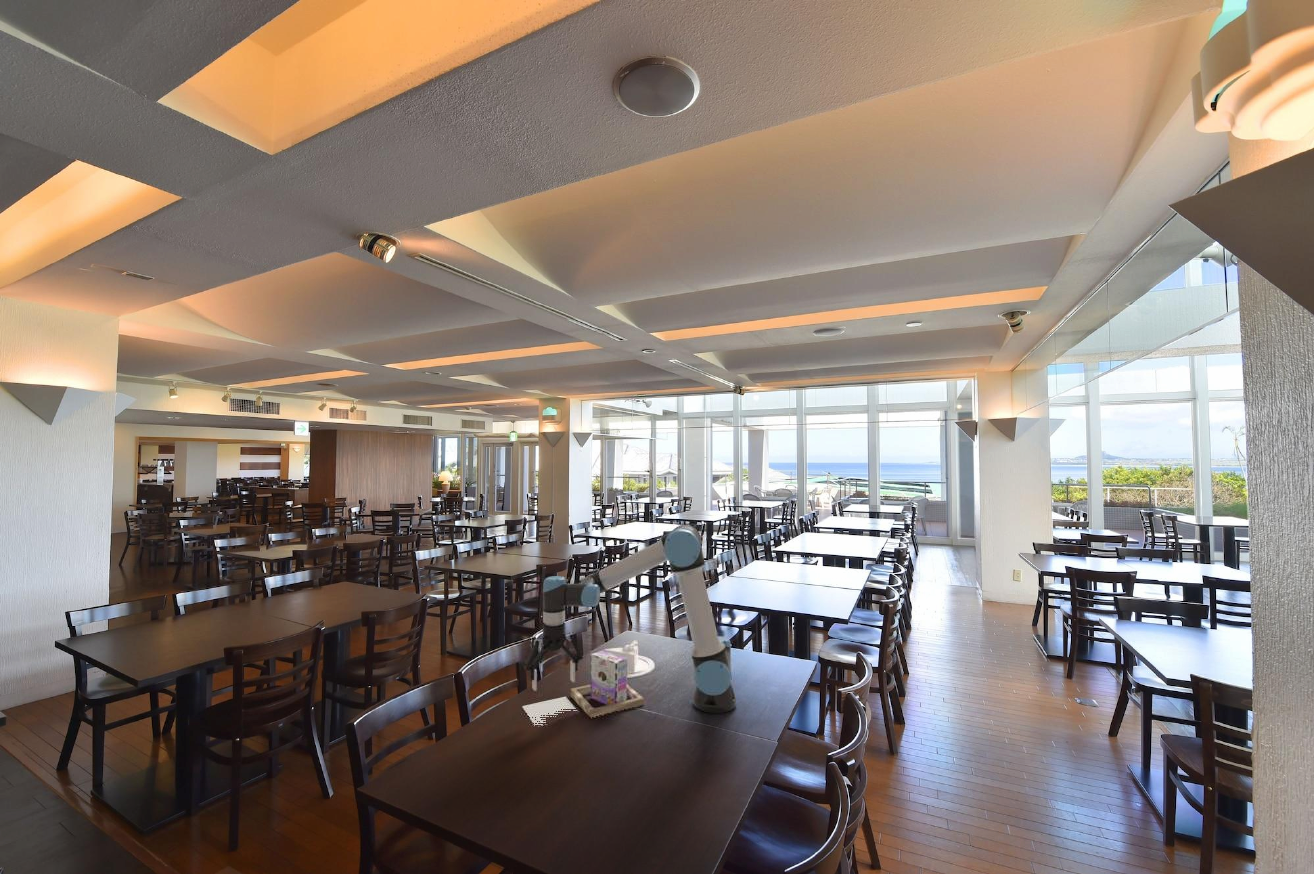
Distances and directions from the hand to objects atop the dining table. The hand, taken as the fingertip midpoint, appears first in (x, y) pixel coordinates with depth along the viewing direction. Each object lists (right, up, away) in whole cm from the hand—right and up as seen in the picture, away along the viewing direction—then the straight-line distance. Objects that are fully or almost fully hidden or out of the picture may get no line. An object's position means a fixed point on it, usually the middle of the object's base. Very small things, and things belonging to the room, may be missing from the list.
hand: (553, 684), depth 183 cm
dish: (+22, -12, +42) cm, 49 cm away
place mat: (0, -10, 0) cm, 10 cm away
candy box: (+18, -11, +9) cm, 23 cm away
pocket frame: (+17, -10, +9) cm, 22 cm away
